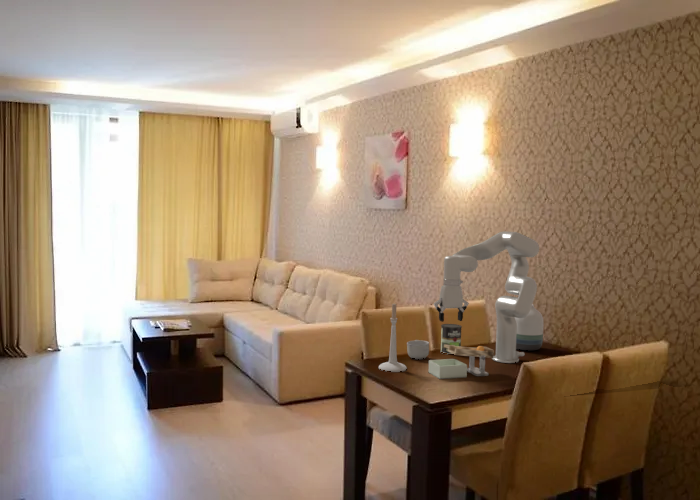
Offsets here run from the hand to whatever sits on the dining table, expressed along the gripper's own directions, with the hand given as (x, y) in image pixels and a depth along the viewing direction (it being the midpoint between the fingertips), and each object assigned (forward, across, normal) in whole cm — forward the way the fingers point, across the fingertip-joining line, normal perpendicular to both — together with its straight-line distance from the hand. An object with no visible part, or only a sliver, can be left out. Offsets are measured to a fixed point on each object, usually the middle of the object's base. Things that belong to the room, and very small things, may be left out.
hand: (450, 320), depth 268 cm
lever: (+14, -5, +6) cm, 16 cm away
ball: (+12, -10, +10) cm, 18 cm away
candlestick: (+22, +26, -6) cm, 34 cm away
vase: (+23, -59, -29) cm, 70 cm away
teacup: (+22, +6, -23) cm, 33 cm away
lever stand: (+22, -9, +10) cm, 26 cm away
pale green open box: (+22, +6, +10) cm, 25 cm away
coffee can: (+22, -15, -29) cm, 40 cm away
